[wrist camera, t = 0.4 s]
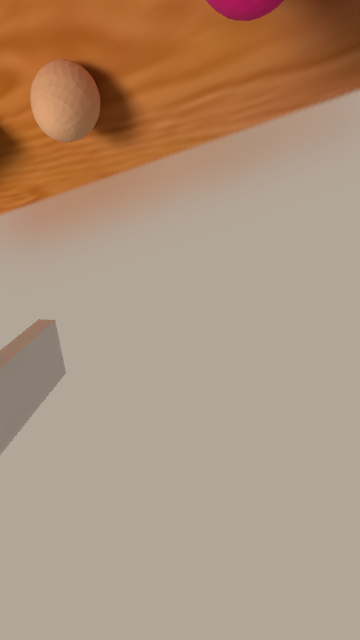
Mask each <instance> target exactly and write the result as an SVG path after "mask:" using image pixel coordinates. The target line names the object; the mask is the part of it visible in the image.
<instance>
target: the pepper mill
mask: <svg viewBox="0 0 360 640" xmlns="http://www.w3.org/2000/svg"><path fill="white" fill-rule="evenodd" d="M206 1H207V2H208V3H209V4H210V5H211V6H212V7H213V8H214V9H215V10H216V11H217V12H219V13H220V14H222V15H223V16H225V17H227V18H229V19H233V20H243V21H250V20H253V19H257V18H260V17H262V16H264V15H266V14H268V13H270V12H271V11H272V10H274V9H275V8H276V7H277V6H279V5H280V4H281V3H282V2H283V1H284V0H206Z"/></svg>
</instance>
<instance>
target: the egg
mask: <svg viewBox="0 0 360 640" xmlns="http://www.w3.org/2000/svg"><path fill="white" fill-rule="evenodd" d="M30 97H31V107H32V112H33V115H34V118H35V120H36V121H37V123H38V125H39V127H40V128H41V129H42V131H43V132H44V133H45V134H47V135H48V136H49V137H51V138H53V139H55V140H58V141H62V142H72V141H75V140H79V139H81V138H83V137H85V136H86V135H87V134H88V133H89V132H90V131H91V130H92V129H93V127H94V126H95V124H96V122H97V120H98V117H99V113H100V95H99V91H98V88H97V86H96V83H95V81H94V79H93V78H92V76H91V75H90V74H89V73H88V71H87V70H85V69H84V68H83V67H82V66H80V65H79V64H77V63H75V62H73V61H69V60H64V59H62V60H55V61H51V62H49V63H47V64H46V65H45V66H43V67H42V68H41V69H40V70H39V72H38V73H37V75H36V76H35V78H34V81H33V83H32V87H31V93H30Z"/></svg>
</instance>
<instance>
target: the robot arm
mask: <svg viewBox="0 0 360 640" xmlns="http://www.w3.org/2000/svg"><path fill="white" fill-rule="evenodd" d="M65 373H66V372H65V367H64V362H63V357H62V352H61V347H60V342H59V337H58V332H57V327H56V322H55V320H40V319H39V320H38V321H36V322H35V323H34V324H33V325H31V326H30V327H29V328H28V329H26V330H25V331H24V332H23V333H22V334H20V335H19V336H18V337H16V338H15V339H14V340H13V341H11V342H10V343H9V344H8V345H6V346H5V347H4V348H3V349H2V350H0V455H1V453H2V452H3V451H4V450H5V448H6V447H7V446H8V445H9V443H10V442H11V441H12V439H13V438H14V437H15V436H16V435H17V433H18V432H19V431H20V430H21V428H22V427H23V426H24V425H25V423H26V422H27V421H28V419H29V418H30V417H31V416H32V414H33V413H34V412H35V411H36V410H37V408H38V407H39V406H40V404H41V403H42V402H43V401H44V400H45V398H46V397H47V396H48V395H49V393H50V392H51V391H52V390H53V388H54V387H55V386H56V385H57V383H58V382H59V381H60V380H61V378H62V377H63V376H64V375H65Z"/></svg>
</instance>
